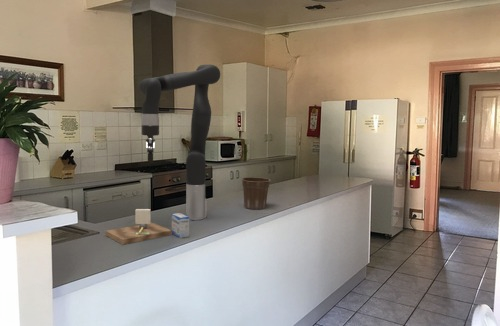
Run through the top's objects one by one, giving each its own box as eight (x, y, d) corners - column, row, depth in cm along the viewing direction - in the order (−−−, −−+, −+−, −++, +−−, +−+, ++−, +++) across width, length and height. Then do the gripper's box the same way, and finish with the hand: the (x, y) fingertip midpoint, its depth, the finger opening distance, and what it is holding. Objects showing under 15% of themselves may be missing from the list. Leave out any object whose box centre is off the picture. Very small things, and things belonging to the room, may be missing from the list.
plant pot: (274, 206, 239) (274, 178, 237) (263, 212, 224) (263, 182, 222) (248, 203, 246) (249, 176, 244) (236, 208, 231) (236, 179, 229)
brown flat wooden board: (152, 227, 189) (152, 222, 189) (171, 234, 177) (171, 230, 177) (105, 235, 174) (105, 230, 174) (123, 244, 162) (123, 239, 162)
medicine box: (171, 233, 179) (171, 213, 178) (180, 232, 182) (180, 212, 181) (179, 238, 173) (180, 217, 172) (189, 236, 176) (189, 216, 175)
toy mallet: (136, 227, 180) (136, 208, 179) (150, 227, 181) (150, 208, 180) (131, 234, 169) (131, 214, 168) (146, 234, 170) (146, 214, 169)
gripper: (142, 123, 189) (142, 159, 191) (141, 124, 175) (141, 162, 177) (159, 124, 191) (159, 159, 193) (159, 124, 177) (159, 162, 179)
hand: (150, 161), depth 185 cm, fingers open, 8 cm apart
